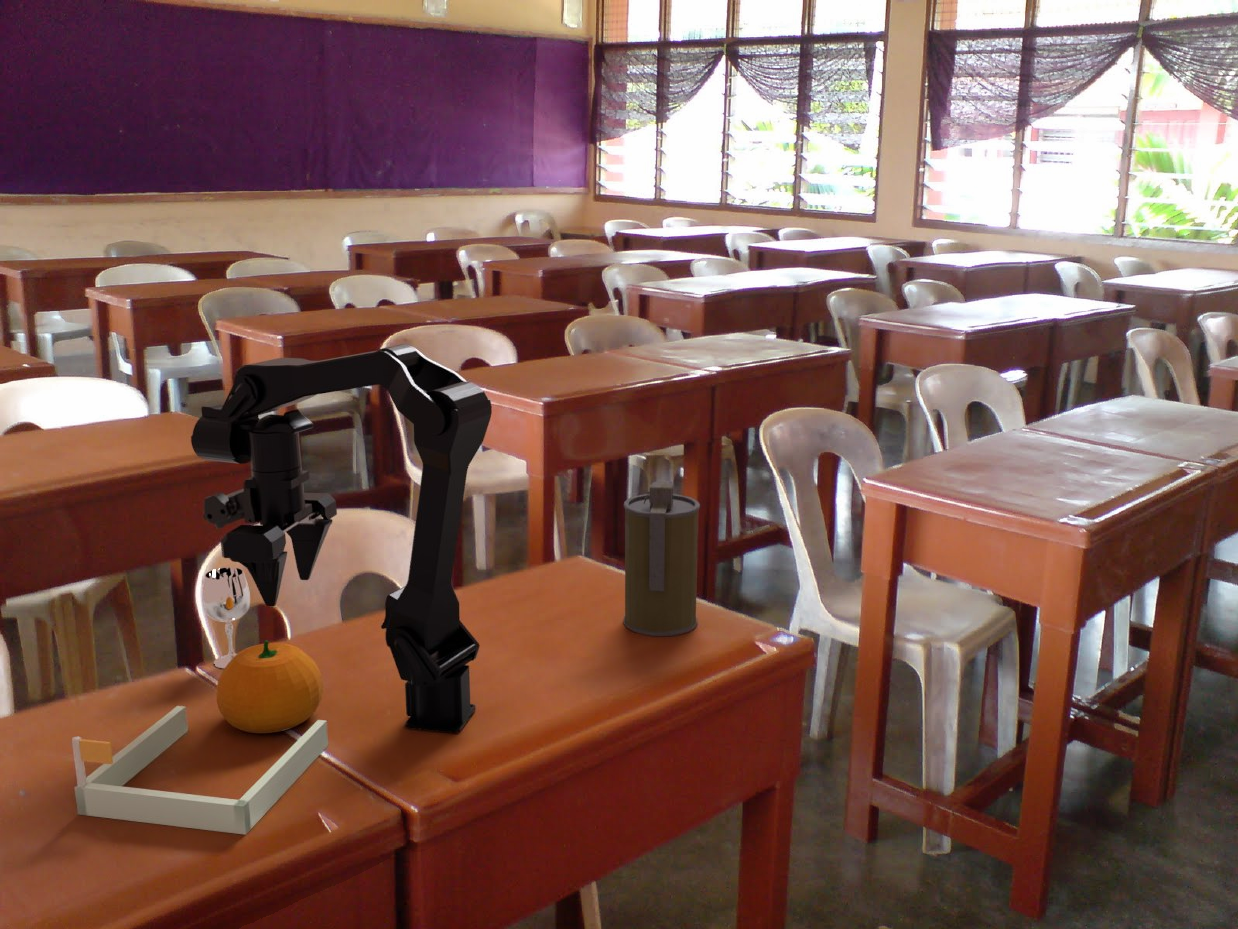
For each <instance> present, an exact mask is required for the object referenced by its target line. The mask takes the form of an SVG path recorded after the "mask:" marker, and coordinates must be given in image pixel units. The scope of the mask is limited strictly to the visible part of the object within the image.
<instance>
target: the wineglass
mask: <svg viewBox="0 0 1238 929" xmlns="http://www.w3.org/2000/svg"><path fill="white" fill-rule="evenodd" d="M202 585H203V586H202V591H201V592H202V596H201V598H202V600H201V601H202V607H203V610H204V613H205V614H206V615H207V616H208V617H209V618H210V619H211V620H214V621H216V622H221V623H225V625H224V630H225V633H226V636H227V641H228V653H227V654H224V655H222V656H219V657H218V658H216V659H215V660H214V661H213V665H214V664H215V665H214V666H215V667H216V668H219V669H225V667H226V666H227V664H228V663H229V662H230V661H231V660H232V658H233V657H235V656H236V655H237V654H238V653H235V651H234V647H233V632H234V625H233V623H232V622H234V621H236V620H239V619H240V618H242V617H243V616H244V615H245V614H246V613H247V612H248V610H249V609H250V605H251V592H250V588H249V583H248V580H247V577H246V574H245V572H244V570H243V569H242V568H239V567H230V566H229V567H227V566H226V567H220V568H219V567H218V568H215V569H212V570H209V571H207V572H206V573H205V574H204V579H203V584H202Z"/></svg>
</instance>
